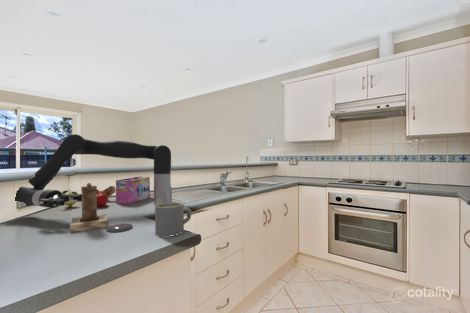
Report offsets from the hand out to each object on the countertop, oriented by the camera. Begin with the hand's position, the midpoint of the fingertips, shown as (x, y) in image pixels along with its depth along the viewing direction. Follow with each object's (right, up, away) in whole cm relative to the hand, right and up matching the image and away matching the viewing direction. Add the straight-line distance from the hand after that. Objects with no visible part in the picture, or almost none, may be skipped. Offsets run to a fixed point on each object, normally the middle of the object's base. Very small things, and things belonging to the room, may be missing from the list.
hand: (74, 200), depth 98 cm
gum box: (+4, -9, +49) cm, 50 cm away
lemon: (-23, -9, +31) cm, 40 cm away
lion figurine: (-14, -9, +47) cm, 50 cm away
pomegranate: (-9, -9, +32) cm, 35 cm away
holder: (+8, -9, -3) cm, 13 cm away
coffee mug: (+44, -10, -11) cm, 46 cm away
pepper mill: (+8, -9, -3) cm, 13 cm away
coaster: (+22, -9, -7) cm, 25 cm away
